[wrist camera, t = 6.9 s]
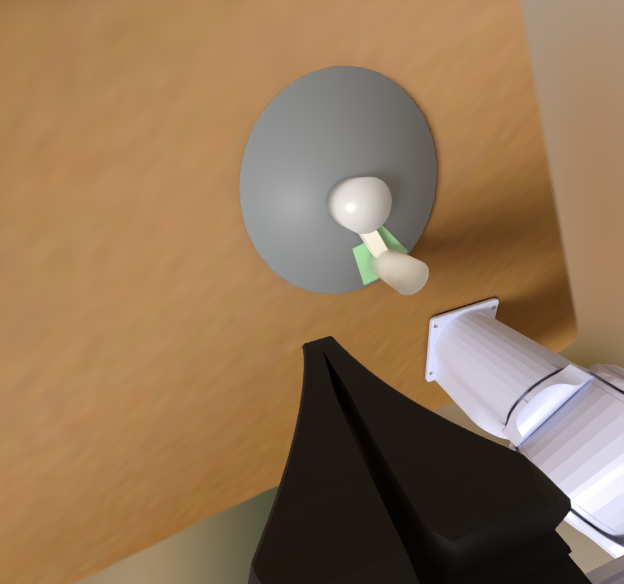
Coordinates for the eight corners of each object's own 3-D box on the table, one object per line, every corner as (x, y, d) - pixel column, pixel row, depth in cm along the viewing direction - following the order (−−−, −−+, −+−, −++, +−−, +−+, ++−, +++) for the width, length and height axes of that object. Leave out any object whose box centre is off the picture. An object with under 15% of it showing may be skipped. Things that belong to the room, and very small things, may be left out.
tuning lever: (317, 198, 15) (335, 203, 11) (354, 167, 14) (383, 163, 11) (375, 283, 19) (400, 304, 15) (404, 259, 18) (437, 276, 15)
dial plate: (422, 265, 21) (431, 269, 20) (272, 307, 19) (273, 314, 18) (434, 57, 14) (447, 48, 13) (204, 93, 12) (200, 85, 11)
